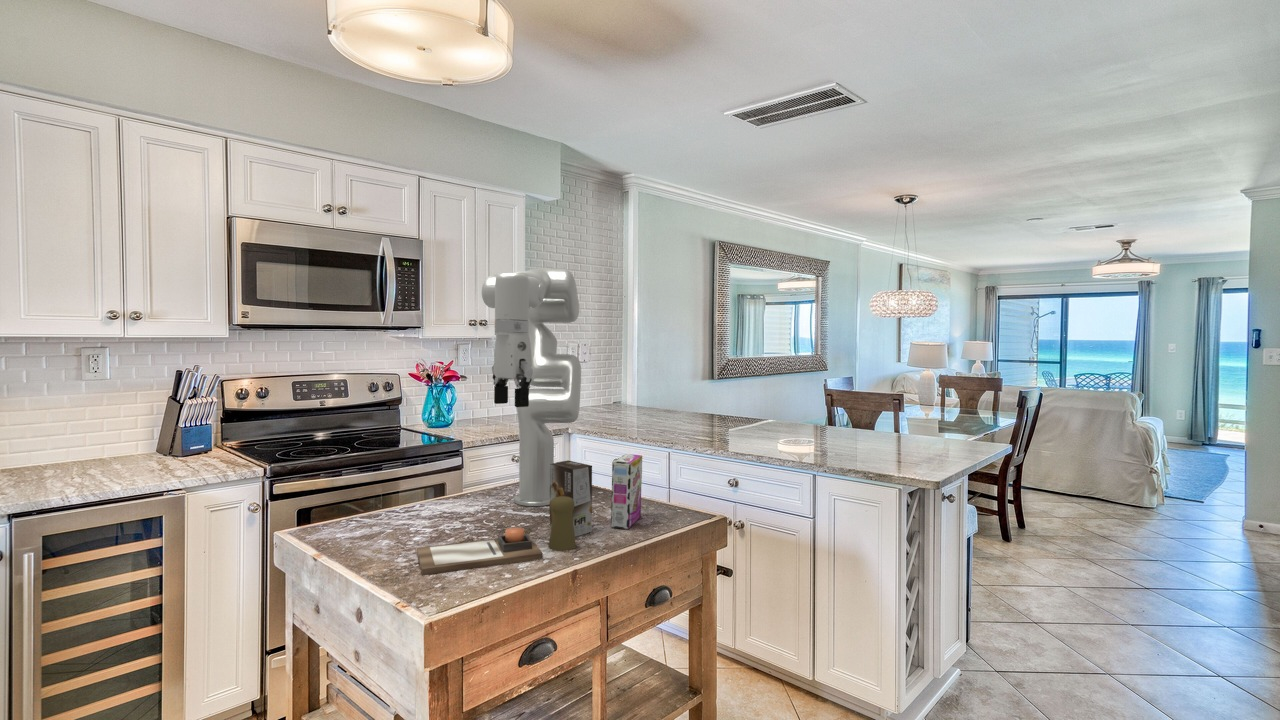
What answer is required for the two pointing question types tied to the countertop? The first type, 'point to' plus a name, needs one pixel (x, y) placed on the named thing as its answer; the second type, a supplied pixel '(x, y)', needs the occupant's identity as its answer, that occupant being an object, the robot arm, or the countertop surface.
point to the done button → (514, 534)
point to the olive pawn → (562, 524)
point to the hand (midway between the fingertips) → (511, 405)
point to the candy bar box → (626, 491)
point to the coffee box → (573, 492)
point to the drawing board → (476, 554)
